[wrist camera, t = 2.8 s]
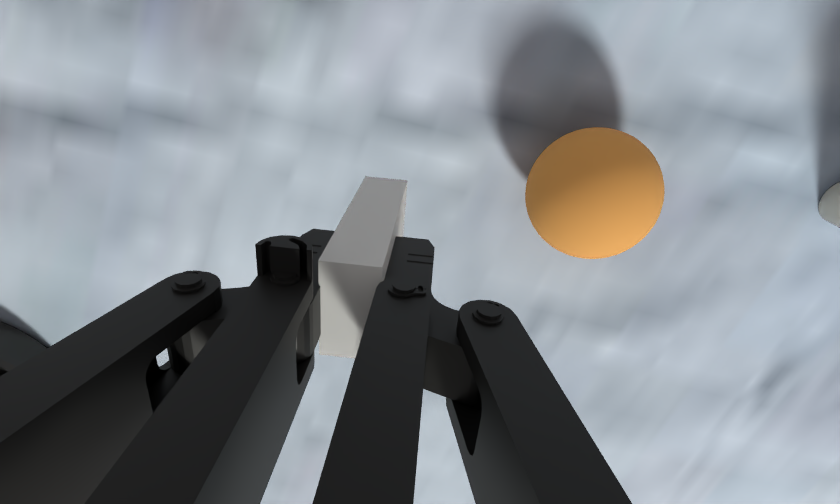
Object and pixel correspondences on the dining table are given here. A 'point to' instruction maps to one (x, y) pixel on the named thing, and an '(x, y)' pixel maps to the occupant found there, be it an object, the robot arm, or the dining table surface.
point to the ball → (594, 193)
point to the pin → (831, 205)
